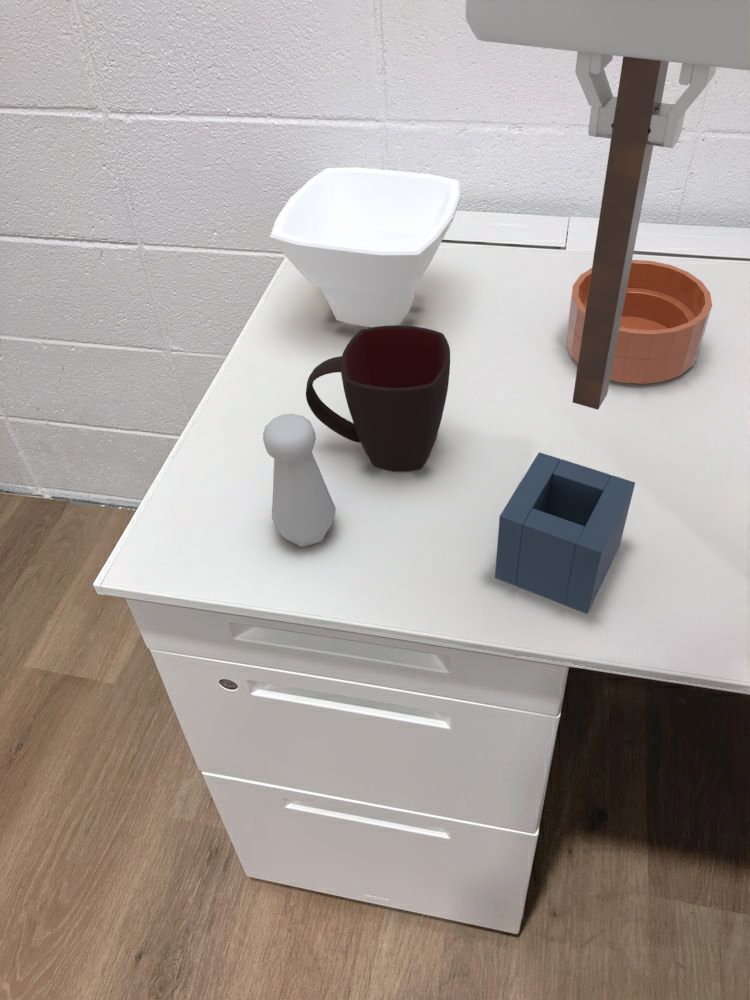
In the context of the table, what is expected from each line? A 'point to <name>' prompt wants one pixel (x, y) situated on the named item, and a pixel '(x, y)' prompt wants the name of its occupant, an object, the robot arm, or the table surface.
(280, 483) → the salt shaker
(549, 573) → the box
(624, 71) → the stirring stick
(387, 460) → the mug
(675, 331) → the terracotta round dish
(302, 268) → the bowl
